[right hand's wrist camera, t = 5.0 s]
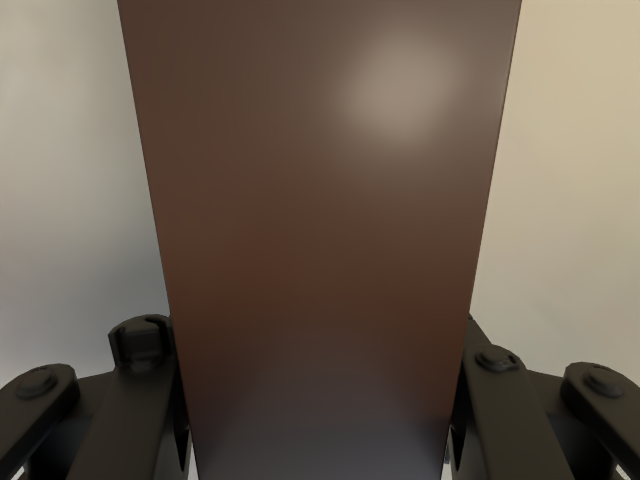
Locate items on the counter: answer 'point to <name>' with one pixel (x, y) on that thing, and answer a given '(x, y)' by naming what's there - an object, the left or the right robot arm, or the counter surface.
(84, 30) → the counter surface
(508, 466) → the right robot arm
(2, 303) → the counter surface
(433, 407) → the walnut box
